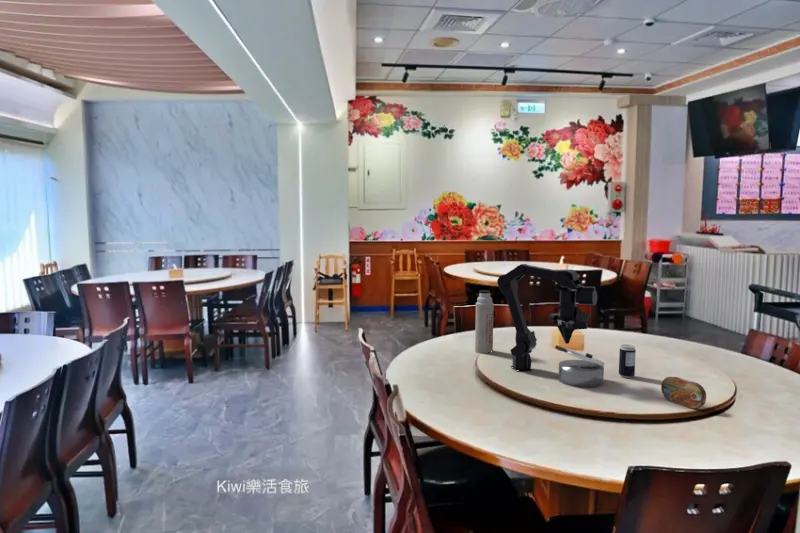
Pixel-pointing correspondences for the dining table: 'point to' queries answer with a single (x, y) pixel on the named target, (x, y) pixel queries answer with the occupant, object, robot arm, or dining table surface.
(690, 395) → the tin
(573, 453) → the dining table surface
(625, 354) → the beverage can
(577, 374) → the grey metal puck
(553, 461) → the dining table surface
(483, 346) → the thermos bottle
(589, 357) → the cooker lid
